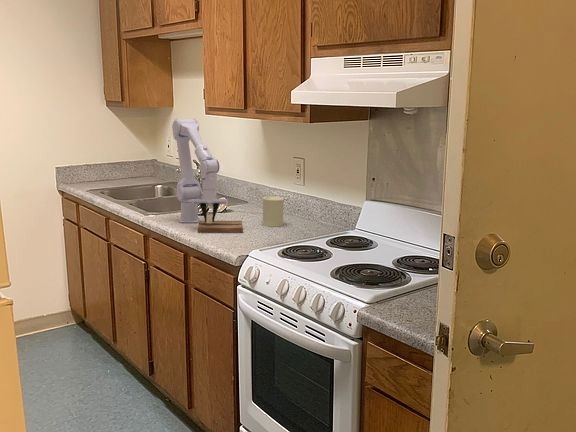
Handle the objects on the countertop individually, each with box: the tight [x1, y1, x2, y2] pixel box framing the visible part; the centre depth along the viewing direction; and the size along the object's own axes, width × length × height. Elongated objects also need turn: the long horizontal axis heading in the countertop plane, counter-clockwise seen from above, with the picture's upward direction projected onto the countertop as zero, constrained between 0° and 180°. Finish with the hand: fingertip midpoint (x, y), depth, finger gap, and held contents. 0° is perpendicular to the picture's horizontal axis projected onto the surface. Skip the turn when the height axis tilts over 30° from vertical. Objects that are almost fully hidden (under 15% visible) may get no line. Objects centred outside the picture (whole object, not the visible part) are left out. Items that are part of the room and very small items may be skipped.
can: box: [261, 196, 285, 228], centre depth 257 cm, size 9×9×12 cm
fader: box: [206, 212, 213, 225], centre depth 245 cm, size 5×2×4 cm, turn 6°
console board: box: [197, 220, 244, 234], centre depth 247 cm, size 14×18×2 cm
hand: (209, 221), depth 246 cm, fingers closed on fader, 2 cm apart
